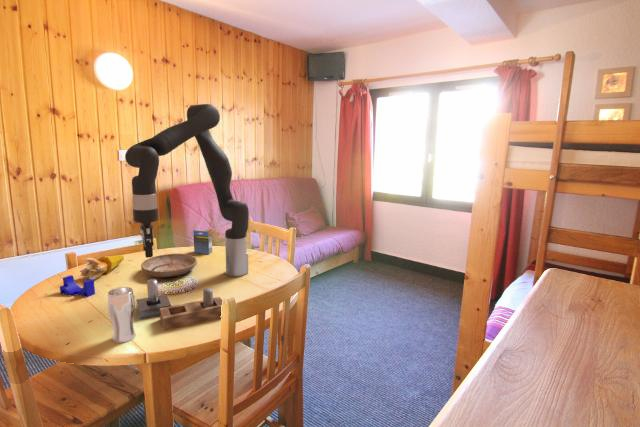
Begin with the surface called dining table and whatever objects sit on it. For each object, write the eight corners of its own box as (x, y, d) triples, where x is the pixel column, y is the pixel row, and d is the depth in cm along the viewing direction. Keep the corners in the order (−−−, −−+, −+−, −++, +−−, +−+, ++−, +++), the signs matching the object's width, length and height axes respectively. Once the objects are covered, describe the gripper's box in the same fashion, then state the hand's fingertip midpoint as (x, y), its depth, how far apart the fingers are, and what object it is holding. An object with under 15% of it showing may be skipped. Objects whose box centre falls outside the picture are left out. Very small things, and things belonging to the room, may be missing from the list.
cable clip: (60, 294, 138) (58, 279, 137) (71, 289, 142) (70, 275, 141) (84, 299, 134) (82, 283, 133) (95, 294, 138) (93, 279, 137)
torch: (124, 271, 172) (88, 285, 147) (109, 263, 172) (71, 275, 147) (132, 256, 171) (97, 268, 146) (117, 248, 171) (80, 258, 146)
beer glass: (117, 331, 112) (113, 286, 109) (140, 331, 113) (137, 286, 110) (106, 344, 106) (102, 296, 103) (131, 343, 106) (127, 296, 103)
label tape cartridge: (212, 252, 193) (212, 229, 191) (208, 254, 189) (208, 231, 187) (197, 250, 195) (197, 228, 193) (193, 252, 191) (192, 230, 189)
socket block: (166, 301, 134) (166, 294, 133) (171, 313, 125) (171, 305, 125) (136, 307, 129) (136, 299, 128) (139, 319, 120) (138, 311, 120)
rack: (219, 307, 131) (219, 283, 129) (226, 316, 124) (225, 291, 122) (160, 319, 121) (158, 294, 119) (163, 330, 114) (162, 303, 112)
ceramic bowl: (129, 276, 157) (128, 265, 156) (169, 260, 178) (169, 250, 177) (170, 285, 149) (169, 274, 148) (207, 268, 170) (207, 257, 169)
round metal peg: (158, 307, 129) (156, 278, 127) (159, 311, 126) (157, 281, 124) (148, 309, 127) (146, 280, 125) (149, 313, 125) (147, 283, 123)
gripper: (160, 210, 116) (162, 258, 119) (155, 203, 128) (157, 246, 131) (133, 211, 112) (137, 261, 116) (131, 204, 125) (134, 249, 128)
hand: (148, 253), depth 124 cm, fingers open, 8 cm apart
